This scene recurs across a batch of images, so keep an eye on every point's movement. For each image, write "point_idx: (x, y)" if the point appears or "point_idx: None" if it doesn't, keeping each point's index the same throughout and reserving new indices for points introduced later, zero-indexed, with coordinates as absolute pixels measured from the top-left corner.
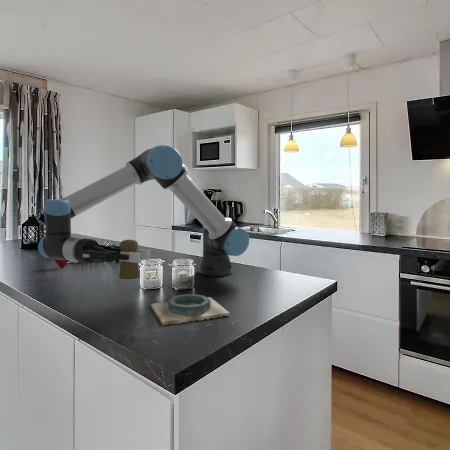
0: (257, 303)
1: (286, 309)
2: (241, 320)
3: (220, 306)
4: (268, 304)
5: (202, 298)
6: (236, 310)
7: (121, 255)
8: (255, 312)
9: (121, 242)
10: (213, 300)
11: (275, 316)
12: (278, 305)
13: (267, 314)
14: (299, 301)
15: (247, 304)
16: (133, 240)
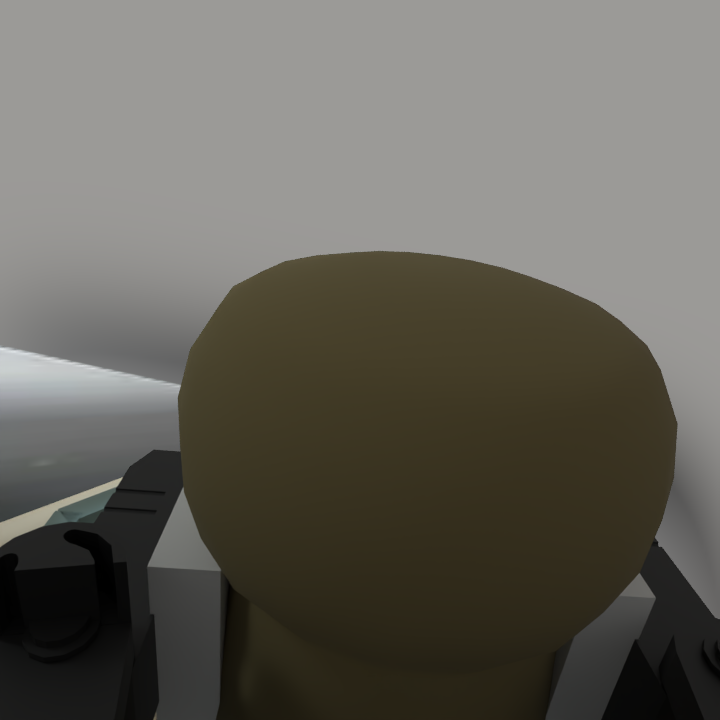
0: (19, 418)
1: (95, 368)
2: None
3: (113, 484)
4: (35, 396)
5: (98, 514)
6: (119, 455)
7: (666, 562)
8: (136, 415)
9: (662, 386)
10: (2, 526)
11: (169, 382)
12: (50, 380)
13: (153, 394)
14: (4, 350)
15: (32, 438)
16: (387, 251)
